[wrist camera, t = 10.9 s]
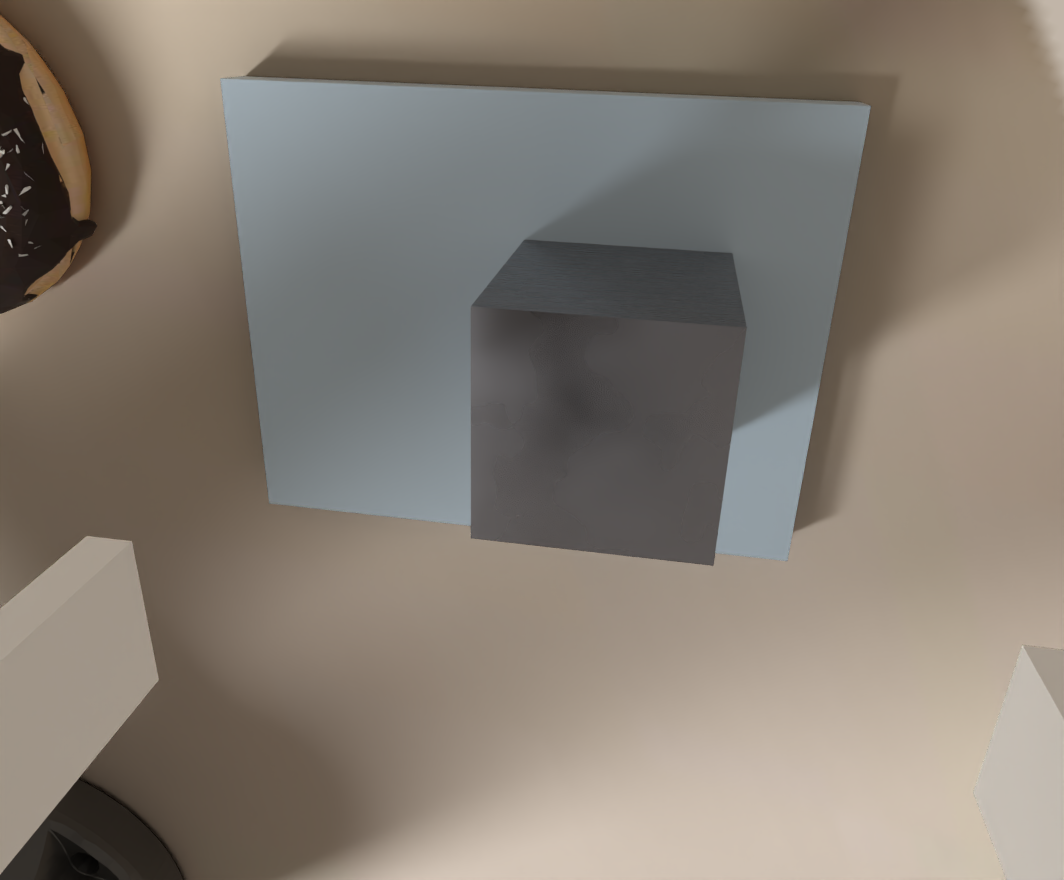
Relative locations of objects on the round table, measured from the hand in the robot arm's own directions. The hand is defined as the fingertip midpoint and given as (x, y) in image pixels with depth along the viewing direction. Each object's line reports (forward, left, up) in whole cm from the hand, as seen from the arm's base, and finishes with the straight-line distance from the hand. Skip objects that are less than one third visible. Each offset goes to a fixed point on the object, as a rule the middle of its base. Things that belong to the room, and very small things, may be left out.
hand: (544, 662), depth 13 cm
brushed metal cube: (0, 0, -15) cm, 15 cm away
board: (-3, 0, -16) cm, 17 cm away
